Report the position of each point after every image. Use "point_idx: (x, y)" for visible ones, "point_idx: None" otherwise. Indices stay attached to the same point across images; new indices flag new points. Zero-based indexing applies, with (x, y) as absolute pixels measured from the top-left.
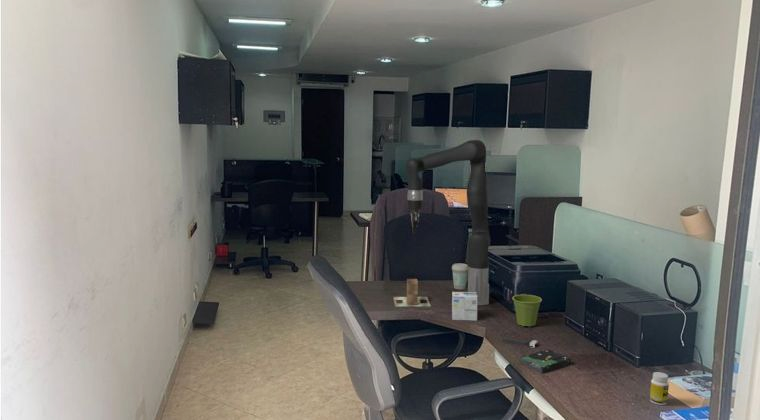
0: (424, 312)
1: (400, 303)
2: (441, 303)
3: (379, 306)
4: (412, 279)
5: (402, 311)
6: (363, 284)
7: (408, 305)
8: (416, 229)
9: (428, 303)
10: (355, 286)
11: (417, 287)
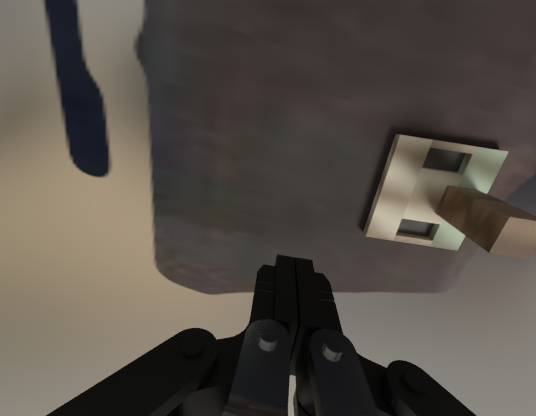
0: (516, 175)
1: (437, 231)
2: (453, 93)
3: (408, 273)
4: (509, 235)
5: None
6: (193, 273)
7: None
8: (315, 300)
9: (475, 150)
10: (213, 293)
11: (527, 213)
